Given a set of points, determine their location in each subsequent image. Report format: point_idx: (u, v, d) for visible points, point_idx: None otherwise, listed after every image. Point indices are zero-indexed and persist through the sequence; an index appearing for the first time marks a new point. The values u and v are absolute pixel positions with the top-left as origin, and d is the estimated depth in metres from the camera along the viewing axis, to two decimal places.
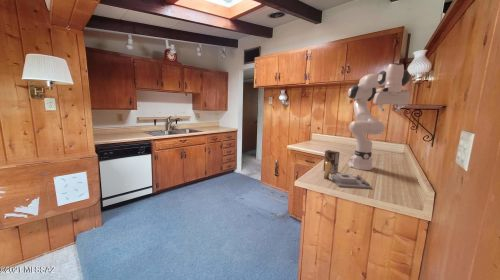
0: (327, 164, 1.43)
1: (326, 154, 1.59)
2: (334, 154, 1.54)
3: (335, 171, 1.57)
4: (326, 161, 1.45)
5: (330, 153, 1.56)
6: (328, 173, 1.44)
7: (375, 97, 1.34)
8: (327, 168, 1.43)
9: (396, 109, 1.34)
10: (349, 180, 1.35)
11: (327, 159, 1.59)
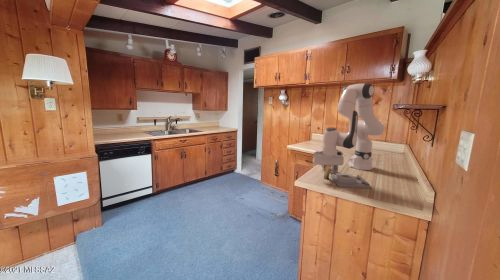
0: None
1: None
2: None
3: (335, 171, 1.57)
4: None
5: None
6: (328, 173, 1.44)
7: None
8: (327, 168, 1.43)
9: (324, 168, 1.45)
10: (349, 180, 1.35)
11: None
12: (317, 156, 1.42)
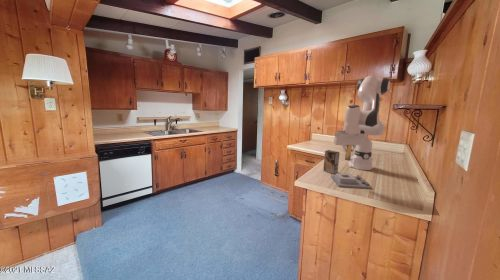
0: None
1: (326, 154, 1.59)
2: (334, 154, 1.54)
3: (335, 171, 1.57)
4: None
5: (330, 153, 1.56)
6: (350, 154, 1.35)
7: None
8: (349, 148, 1.34)
9: (346, 149, 1.36)
10: (349, 180, 1.35)
11: (327, 159, 1.59)
12: (340, 135, 1.32)
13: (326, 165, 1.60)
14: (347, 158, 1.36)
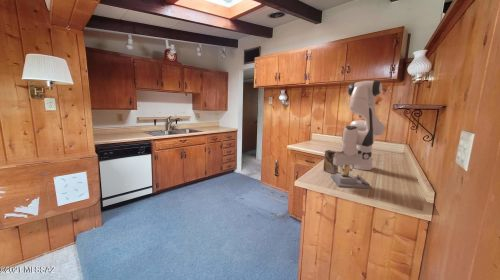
0: (347, 165, 1.37)
1: (326, 154, 1.59)
2: None
3: (335, 171, 1.57)
4: None
5: (330, 153, 1.56)
6: (348, 175, 1.38)
7: None
8: (347, 170, 1.37)
9: (343, 169, 1.38)
10: (349, 180, 1.35)
11: (327, 159, 1.59)
12: (339, 156, 1.33)
13: (326, 165, 1.60)
14: None
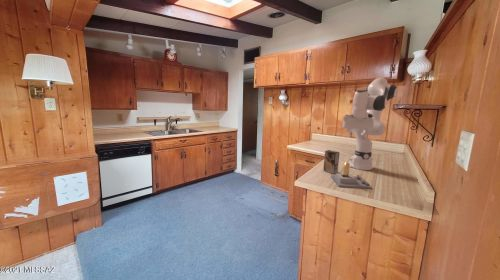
0: (347, 165, 1.37)
1: (326, 154, 1.59)
2: (334, 154, 1.54)
3: (335, 171, 1.57)
4: None
5: (330, 153, 1.56)
6: (348, 175, 1.38)
7: None
8: (347, 170, 1.37)
9: None
10: (349, 180, 1.35)
11: (327, 159, 1.59)
12: (348, 119, 1.37)
13: (326, 165, 1.60)
14: None
